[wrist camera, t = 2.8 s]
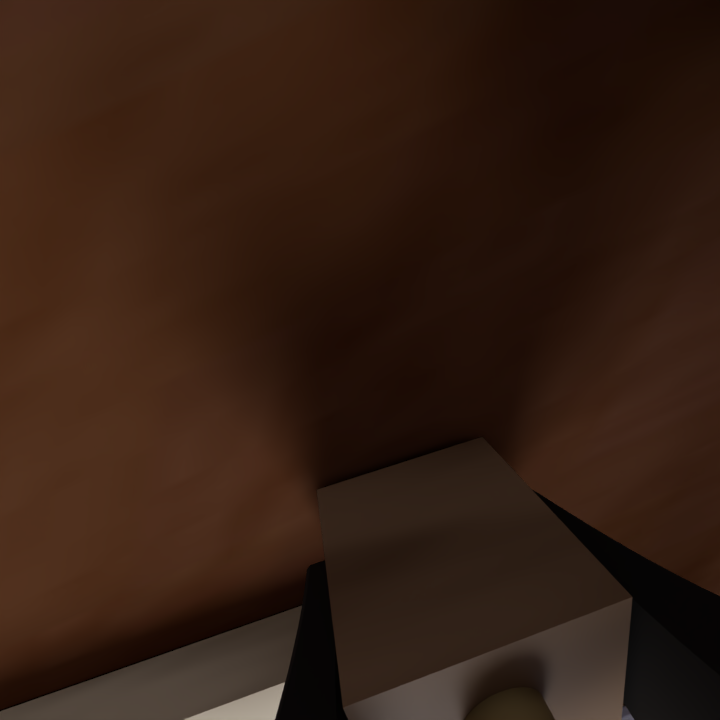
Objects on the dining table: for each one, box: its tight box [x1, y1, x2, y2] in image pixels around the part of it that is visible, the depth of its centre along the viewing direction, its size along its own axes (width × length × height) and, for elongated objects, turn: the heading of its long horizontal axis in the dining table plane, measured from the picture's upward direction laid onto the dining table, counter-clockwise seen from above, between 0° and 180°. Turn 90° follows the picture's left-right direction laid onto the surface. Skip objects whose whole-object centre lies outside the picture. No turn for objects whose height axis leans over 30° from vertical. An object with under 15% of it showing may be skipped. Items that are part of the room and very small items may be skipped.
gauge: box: [317, 437, 632, 720], centre depth 10 cm, size 12×5×6 cm, turn 13°
